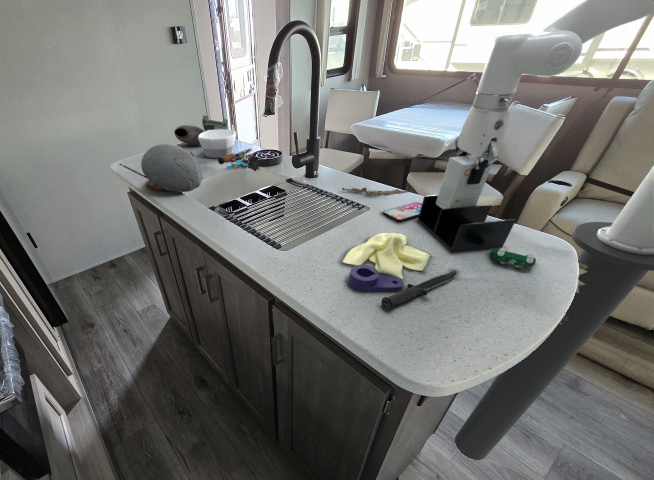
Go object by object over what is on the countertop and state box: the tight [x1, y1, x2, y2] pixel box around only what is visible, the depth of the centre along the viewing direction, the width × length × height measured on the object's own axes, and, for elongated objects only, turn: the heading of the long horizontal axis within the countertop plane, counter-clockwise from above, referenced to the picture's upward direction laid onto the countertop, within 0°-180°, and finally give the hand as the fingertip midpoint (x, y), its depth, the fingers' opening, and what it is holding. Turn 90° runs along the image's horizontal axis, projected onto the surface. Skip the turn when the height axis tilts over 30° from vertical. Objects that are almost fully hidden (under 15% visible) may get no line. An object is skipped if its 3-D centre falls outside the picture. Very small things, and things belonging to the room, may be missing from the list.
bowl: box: [198, 129, 237, 159], centre depth 157 cm, size 18×18×9 cm
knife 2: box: [380, 270, 458, 311], centre depth 72 cm, size 24×5×3 cm, turn 114°
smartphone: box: [382, 202, 422, 222], centre depth 102 cm, size 8×1×15 cm
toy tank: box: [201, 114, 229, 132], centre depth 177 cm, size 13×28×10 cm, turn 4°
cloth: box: [342, 232, 431, 280], centre depth 82 cm, size 22×19×6 cm
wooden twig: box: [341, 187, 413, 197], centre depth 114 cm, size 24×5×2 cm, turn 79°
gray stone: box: [140, 143, 203, 193], centre depth 123 cm, size 23×22×10 cm
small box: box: [436, 154, 494, 209], centre depth 87 cm, size 8×6×13 cm
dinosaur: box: [229, 148, 255, 163], centre depth 152 cm, size 4×20×7 cm
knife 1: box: [217, 148, 250, 165], centre depth 155 cm, size 25×3×5 cm
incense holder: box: [119, 163, 170, 192], centre depth 129 cm, size 21×30×11 cm
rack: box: [416, 194, 517, 254], centre depth 89 cm, size 14×18×8 cm
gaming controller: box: [490, 246, 537, 269], centre depth 78 cm, size 9×4×6 cm
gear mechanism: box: [226, 150, 249, 169], centre depth 144 cm, size 20×5×9 cm
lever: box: [348, 264, 405, 293], centre depth 74 cm, size 12×6×3 cm, turn 77°
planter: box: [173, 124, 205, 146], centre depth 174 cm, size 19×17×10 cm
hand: (464, 178), depth 86 cm, fingers closed on small box, 6 cm apart
